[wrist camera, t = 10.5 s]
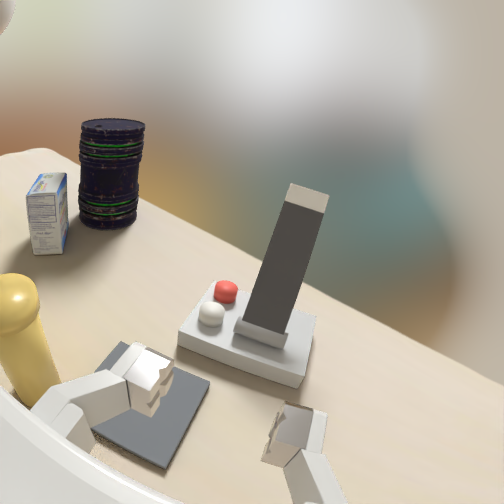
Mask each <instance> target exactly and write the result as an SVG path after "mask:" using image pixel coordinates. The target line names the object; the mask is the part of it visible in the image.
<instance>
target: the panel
mask: <svg viewBox="0 0 504 504" xmlns="http://www.w3.org/2000/svg"><path fill="white" fill-rule="evenodd" d="M250 296H251V294H250V293H247V292H245V291H242V290H239V289H238V287H237V286H236V285H235V284H234V283H232V282H230V281H219V282H217V281H214V282H213V283H212V284H211V286H210V287H209V289H208V290H207V291H206V293H205V294H204V295H203V297H202V298H201V300H200V301H199V302H198V304H197V305H196V307H195V308H194V309H193V311H192V312H191V314H190V315H189V316H188V318H187V319H186V321H185V322H184V323H183V325H182V326H181V327H180V329H179V331H178V342H177V345H179V346H182V347H184V348H186V349H189V350H191V351H194V352H196V353H198V354H201V355H203V356H206V357H208V358H211V359H213V360H216V361H219V362H221V363H224V364H226V365H229V366H232V367H234V368H237V369H240V370H243V371H245V372H248V373H251V374H254V375H257V376H259V377H262V378H265V379H268V380H271V381H274V382H277V383H280V384H283V385H286V386H290V387H293V388H296V389H298V387H299V385H300V384H301V382H302V380H303V378H304V377H305V372H306V367H307V363H308V358H309V353H310V348H311V343H312V337H313V332H314V327H315V321H316V316H314V315H311V314H308V313H305V312H302V311H300V310H297V309H294V308H293V310H292V313H291V316H290V319H289V321H288V324H287V327H286V330H285V332H286V333H289V334H288V338H287V341H286V343H285V346H284V348H283V350H282V349H279V348H276V347H273V346H270V345H267V344H265V343H262V342H259V341H256V340H253V339H250V338H248V337H245V336H242V335H239V334H237V333H234V332H233V330H234V326H235V323H236V321H237V319H238V317H239V316H240V317H243V315H244V312H245V310H246V307H247V304H248V301H249V299H250Z"/></svg>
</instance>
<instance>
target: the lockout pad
mask: <svg viewBox="0 0 504 504" xmlns="http://www.w3.org/2000/svg"><path fill="white" fill-rule="evenodd" d="M128 348H129V345H127V344H125V343H124V342H122V341H120V343H119V344H118V345H117V346H116V347H115V348H114V350H113V351H112V352H111V353H110V354H109V355H108V357H107V358H106V359H105V360H104V361H103V362H102V364H101V365H100V366H99V367H98V368H97V369H96V371H95V372H94V373H96V372H99V371H102V370H105V369H107V370H109V371H110V369H111V368H112V367H113V366H114V365H115V363H116V362H117V361H118V360H119V358H120V357H121V356H122V355H123V354H124V352H125V351H126V350H127V349H128ZM172 371H173V373H174V375H173V380H172V384H171V386H170V388H169V390H168V392H167V394H166V395H165V396H163V397H160V405H159V407H158V408H157V410H156V411H155V413H154V415H153V416H152V418H151V417H148V416H146V415H144V414H142V413H140V412H138V411H136V410H134V409H132V408H130V410H127V411H125V412H123V413H121V414H119V415H117V416H115V417H113V418H111V419H109V420H107V421H105V422H102V423H100V424H98V425H96V426H94V427H92V428H90V429H91V430H92V431H94V432H95V433H97V434H99V435H100V436H102V437H104V438H105V439H107V440H109V441H111V442H112V443H114V444H116V445H118V446H119V447H121V448H123V449H125V450H127V451H129V452H130V453H132V454H134V455H136V456H138V457H140V458H142V459H144V460H146V461H148V462H150V463H152V464H154V465H156V466H158V467H161V468H163V469H165V470H166V468H167V466H168V464H169V463H170V461H171V459H172V457H173V455H174V453H175V451H176V449H177V447H178V445H179V444H180V442H181V440H182V438H183V436H184V434H185V432H186V430H187V428H188V426H189V424H190V422H191V420H192V419H193V417H194V415H195V413H196V411H197V409H198V407H199V405H200V403H201V401H202V399H203V397H204V395H205V393H206V391H207V389H208V387H209V385H210V381H207V380H205V379H202V378H200V377H197V376H195V375H192V374H190V373H188V372H185V371H183V370H181V369H178V368H176V367H174V366H173V368H172Z"/></svg>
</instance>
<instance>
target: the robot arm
mask: <svg viewBox="0 0 504 504" xmlns="http://www.w3.org/2000/svg"><path fill="white" fill-rule="evenodd" d="M14 9H15V0H0V35H1V34H2V33H3V31H4V30H5V29H6V27H7V26H8V24H9V22H10V20H11V18H12V16H13V13H14ZM173 366H174V359H172V358H170V357H168V356H165V355H163V354H161V353H159V352H157V351H155V350H153V349H151V348H149V347H147V346H145V345H143V344H141V343H139V342H137V341H135V342H134V343H132V344H131V345H130V346H129V348H128V349H127V350H126V351H125V352H124V354H123V355H122V356H121V357H120V358H119V360H118V361H117V362H116V363H115V365H114V366H113V367H112V368H111V369H110V371H109V370H107V369H105V370H102V371H99V372H96V373H93V374H90V375H87V376H83V377H80V378H77V379H74V380H71V381H67V382H64V383H61V384H58V385H54V386H51V387H50V388H49V389H48V390H47V391H46V392H45V394H44V395H43V396H42V397H41V398H40V399H39V400H38V402H37V403H36V404H35V405H34V406H33V407H32V408H31V410H30V411H29V410H28V409H27V408H26V407H24V406H23V405H22V404H21V403H20V402H19V401H17V400H16V399H15V398H14V397H13V396H12V395H11V394H10V393H8V392H7V391H6V390H5V389H4V388H3V387H2V386H1V385H0V504H186V503H183V502H181V501H178V500H176V499H174V498H171V497H169V496H167V495H164V494H162V493H160V492H158V491H156V490H153V489H151V488H149V487H147V486H145V485H143V484H141V483H139V482H137V481H135V480H133V479H131V478H129V477H128V476H126V475H124V474H122V473H120V472H118V471H117V470H115V469H113V468H111V467H110V466H108V465H106V464H104V463H103V462H101V461H99V460H98V459H96V458H95V457H93V456H91V455H90V454H89V453H90V451H91V450H92V448H93V447H94V445H95V444H96V440H95V438H94V435H93V433H92V431H91V429H90V428H92V427H94V426H96V425H98V424H100V423H102V422H105V421H107V420H109V419H111V418H113V417H115V416H117V415H119V414H121V413H123V412H125V411H127V410H130V408H132V409H134V410H136V411H138V412H140V413H142V414H144V415H146V416H148V417H151V418H152V416H153V415H154V413H155V411H156V410H157V408H158V407H159V405H160V397H163V396H165V395H166V394H167V392H168V390H169V388H170V386H171V384H172V380H173V375H174V373H173V371H172V368H173ZM327 418H328V415H327V413H326V412H322V411H318V410H314V409H312V408H309V407H305V406H301V405H298V404H294V403H291V402H287V401H285V402H284V403H283V405H282V406H281V410H280V412H278V413H277V415H276V417H275V419H274V421H273V424H272V426H271V429H270V432H269V438H270V439H269V441H268V442H267V444H266V445H265V448H264V451H263V454H262V458H261V461H262V462H265V463H268V464H271V465H275V466H278V467H281V468H283V471H284V474H285V478H286V481H287V484H288V488H289V491H290V494H291V497H292V501H293V504H348V501H347V499H346V497H345V495H344V493H343V491H342V489H341V487H340V485H339V482H338V480H337V478H336V476H335V474H334V472H333V470H332V467H331V465H330V463H329V461H328V459H327V457H326V455H325V454H322V449H323V443H324V437H325V431H326V424H327Z"/></svg>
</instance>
